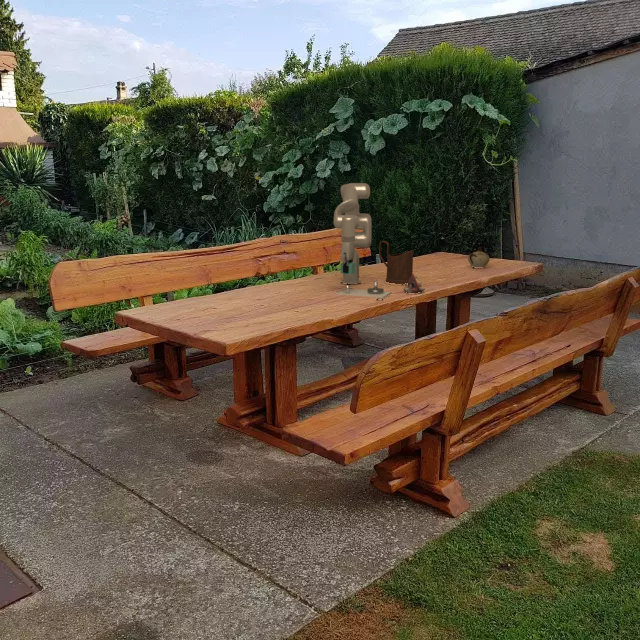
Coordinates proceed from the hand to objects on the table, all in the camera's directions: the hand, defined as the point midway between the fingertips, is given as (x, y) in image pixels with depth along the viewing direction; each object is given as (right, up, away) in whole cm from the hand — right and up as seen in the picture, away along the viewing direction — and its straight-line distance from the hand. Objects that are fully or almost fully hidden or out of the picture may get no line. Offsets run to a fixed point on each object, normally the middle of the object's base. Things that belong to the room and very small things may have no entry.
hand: (347, 271), depth 372 cm
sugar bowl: (+97, +10, +107) cm, 145 cm away
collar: (0, -1, 0) cm, 1 cm away
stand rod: (0, -12, +2) cm, 12 cm away
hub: (+16, -12, +3) cm, 20 cm away
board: (+9, -13, +3) cm, 16 cm away
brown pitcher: (+32, -3, +48) cm, 58 cm away
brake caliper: (+38, -12, +11) cm, 41 cm away
